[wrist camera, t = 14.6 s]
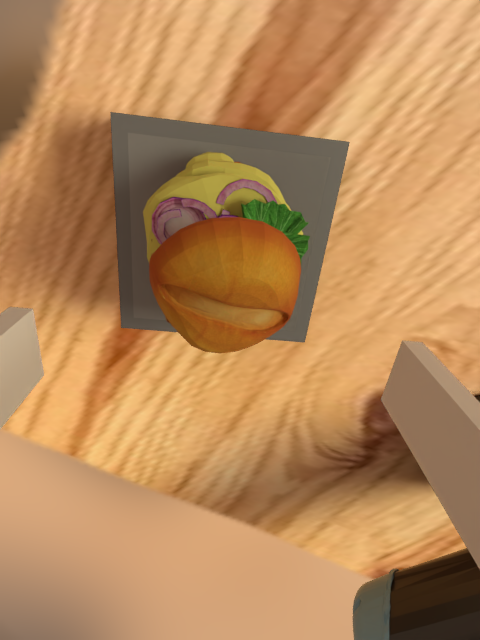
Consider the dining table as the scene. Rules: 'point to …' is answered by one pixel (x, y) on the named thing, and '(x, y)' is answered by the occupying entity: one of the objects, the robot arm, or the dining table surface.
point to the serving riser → (242, 146)
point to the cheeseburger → (223, 253)
